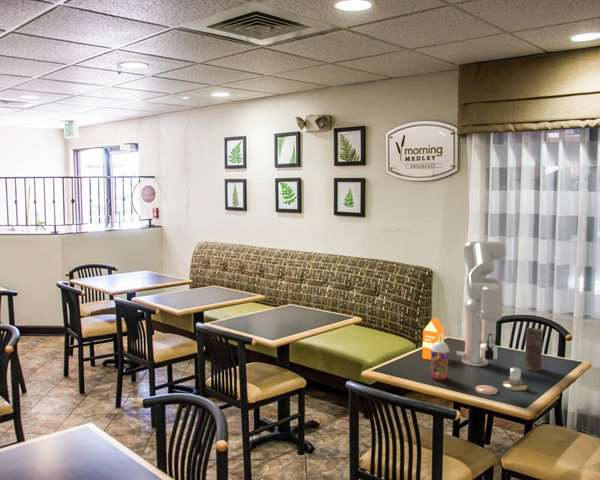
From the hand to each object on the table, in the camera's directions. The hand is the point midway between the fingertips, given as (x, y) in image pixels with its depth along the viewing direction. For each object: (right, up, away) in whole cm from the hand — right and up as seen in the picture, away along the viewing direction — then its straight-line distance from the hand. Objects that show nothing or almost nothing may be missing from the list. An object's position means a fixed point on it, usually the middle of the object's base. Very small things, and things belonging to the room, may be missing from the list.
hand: (488, 356), depth 237 cm
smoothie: (-17, -14, +16) cm, 27 cm away
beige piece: (+14, -15, +7) cm, 21 cm away
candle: (+32, -13, +30) cm, 45 cm away
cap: (0, 0, 0) cm, 0 cm away
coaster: (0, -15, +2) cm, 15 cm away
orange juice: (-12, -10, +47) cm, 49 cm away
